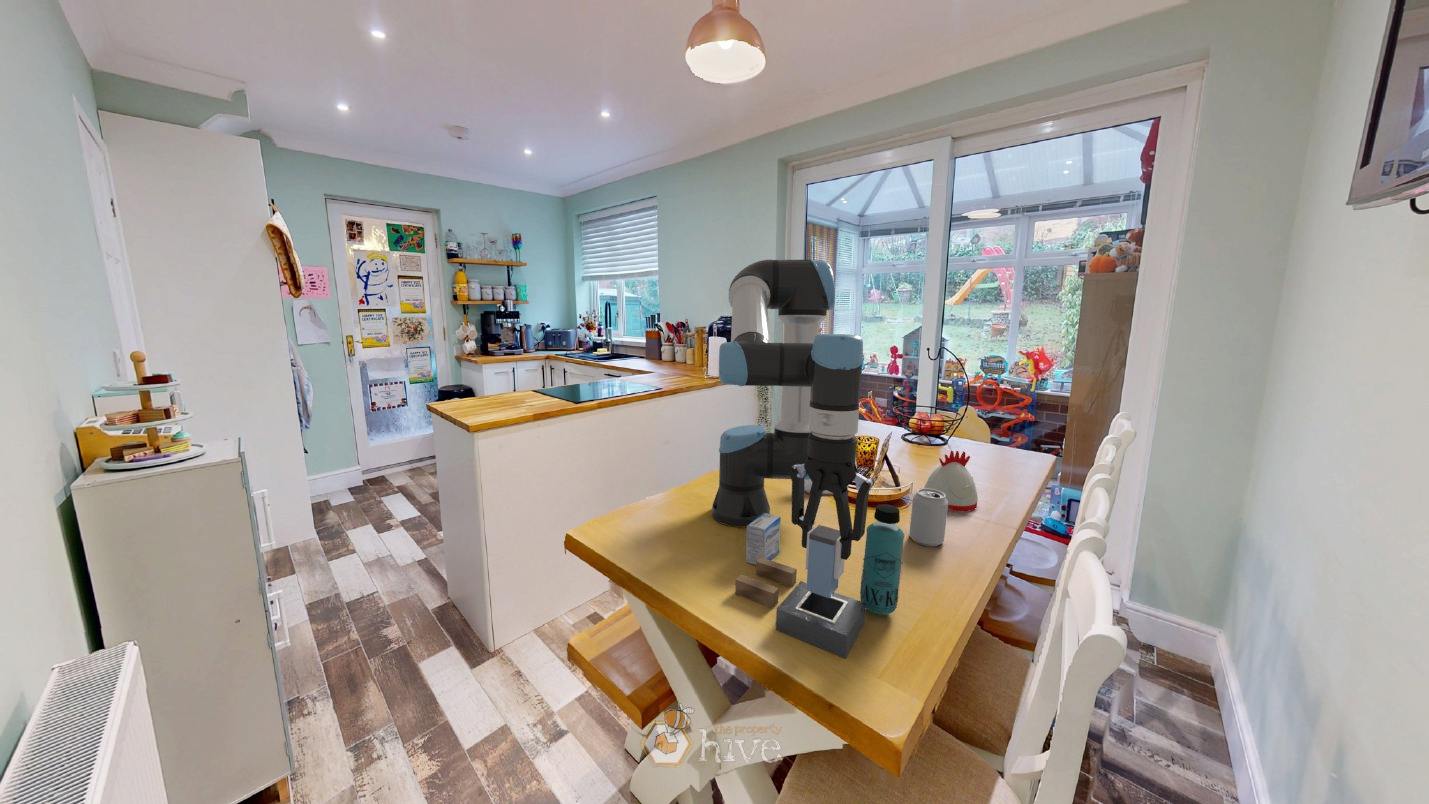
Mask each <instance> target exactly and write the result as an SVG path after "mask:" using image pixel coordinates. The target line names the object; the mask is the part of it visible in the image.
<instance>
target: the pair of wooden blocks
mask: <svg viewBox="0 0 1429 804" xmlns="http://www.w3.org/2000/svg"><path fill="white" fill-rule="evenodd" d="M797 570H798V569H797V568H795V567H792V566H789V565H785V564H782V563H780V562H778V561H774V560H768V559H765V558H762V557H760V558H759V559H758V560H757V561H756V565H755V576H758V577H761V578H764V579H767V580H769V581H771V582H775V583H777V584H780V585H783V586H785V587H790V588H793V587H794V586H795V584H797ZM734 584H735V595H738V596H740V597H742V598H746V599H747V600H751V601H753V602H755V603H758V604H761V605H763V606H766V607H767V608H771V609H775V607H776V606H777V605H778V603H779V591H780V590H779V588H778V587H776V586H773V585H771V584H768V583H765V582H762V581H759V580H757V579H754V578H752V577H751V578H750V577H748V576H746V575H743V574H740V575H739V576H738V577H737V578H735V583H734Z"/></svg>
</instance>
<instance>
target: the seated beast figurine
mask: <svg viewBox="0 0 1429 804" xmlns="http://www.w3.org/2000/svg"><path fill="white" fill-rule="evenodd" d="M811 486H812V481H811V479H808V480H805V486H804V492H805V493H807V494H809V495H810V490H811ZM823 495H833V493H831V492H829V491H827V490H825V491H823V493H822V496H823Z"/></svg>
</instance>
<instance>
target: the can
mask: <svg viewBox="0 0 1429 804" xmlns="http://www.w3.org/2000/svg"><path fill="white" fill-rule="evenodd" d="M945 497H946V495H945V494H944V493H943V492H941V491H938V490H935V489H929V488H918V489H917V490H916V493H915V494H914V495H913V496H912V501H911V502H912V506H911V514H910V523H909V525H910V526H909V537H910V538H911V539H912V540H913V542H915V543H917V544H918V545H922V546H925V547H938V546H939V545H941V544H943V543H944V541H945V535H946V527H947V526H946V525H947V518H948V511H949V510H948V500H947V499H946V498H945Z"/></svg>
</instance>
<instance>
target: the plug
mask: <svg viewBox="0 0 1429 804" xmlns="http://www.w3.org/2000/svg"><path fill="white" fill-rule="evenodd" d="M839 537H840V530H838V529H835V528H832V527H830V526H829V527H828V526H824V525H820V524H819V525H817V526H816V528H815V529H814V530H813V531H812V532H811V533H810V535H809V539H810V541H809V556H808V570H807V573H806V575H807V576H806V583H807V586H806V590H807V591H810V592H813V593H815V594H818V595H821V596H824V597H827V598H829V599H830V597H831V596H832V595H833V593H836V591H837V590H838V588H839V582H840V581H839V579H840V578H839V579H835V578H834V562H835V546H836V540H837V539H838V538H839Z"/></svg>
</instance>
